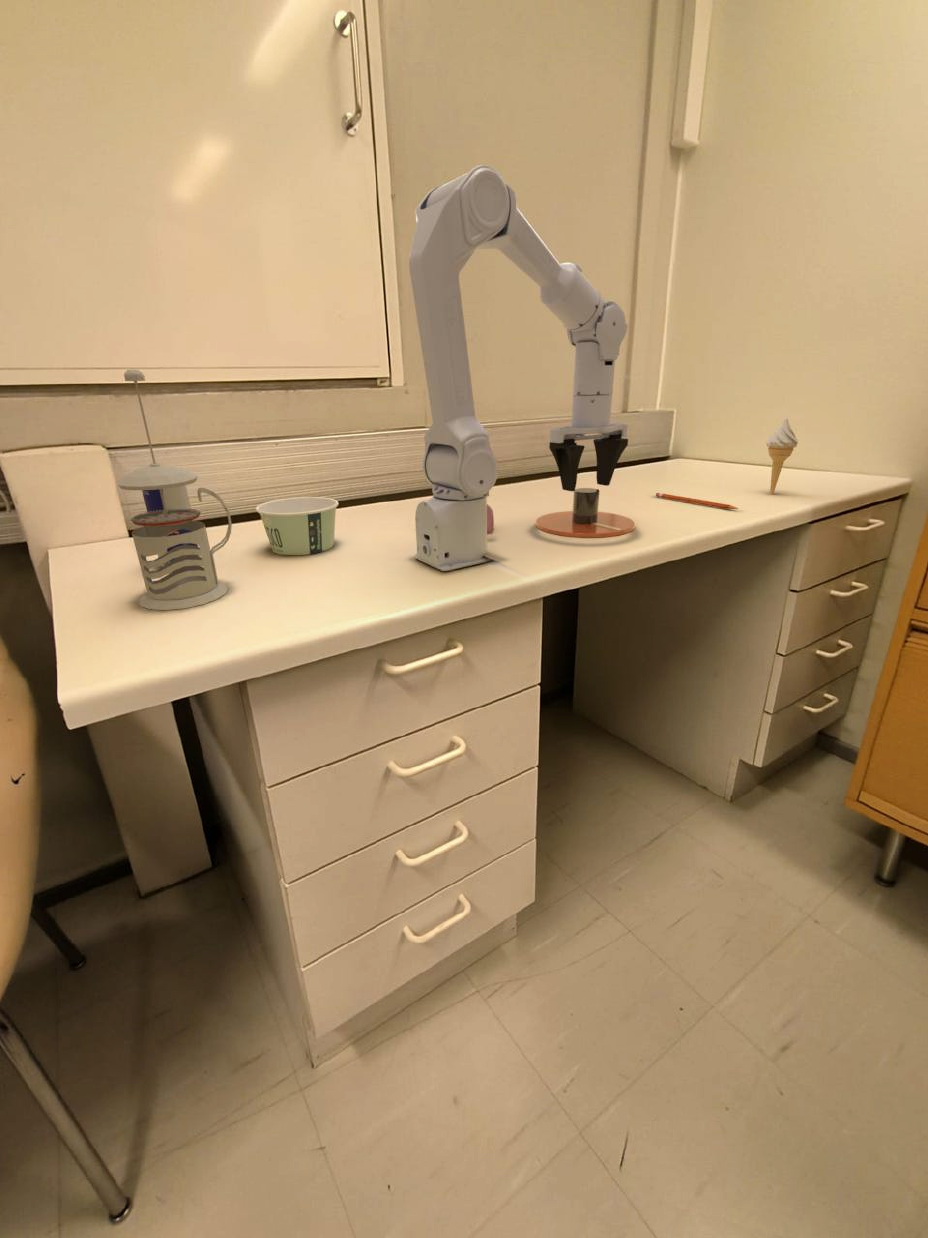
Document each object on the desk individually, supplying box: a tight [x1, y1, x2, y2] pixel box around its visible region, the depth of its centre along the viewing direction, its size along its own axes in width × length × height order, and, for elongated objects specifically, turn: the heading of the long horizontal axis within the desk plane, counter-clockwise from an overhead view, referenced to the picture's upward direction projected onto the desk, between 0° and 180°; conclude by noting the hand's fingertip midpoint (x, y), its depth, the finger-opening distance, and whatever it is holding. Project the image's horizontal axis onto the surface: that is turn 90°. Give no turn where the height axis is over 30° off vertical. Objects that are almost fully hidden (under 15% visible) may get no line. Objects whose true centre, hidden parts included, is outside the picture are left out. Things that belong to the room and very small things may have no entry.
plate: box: [535, 487, 636, 539], centre depth 90 cm, size 16×16×6 cm
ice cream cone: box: [766, 417, 799, 495], centre depth 114 cm, size 6×6×15 cm
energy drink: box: [141, 485, 202, 567], centre depth 77 cm, size 5×5×12 cm
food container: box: [255, 496, 339, 556], centre depth 85 cm, size 12×12×6 cm
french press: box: [116, 368, 233, 611], centre depth 64 cm, size 10×12×25 cm
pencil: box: [655, 492, 740, 510], centre depth 109 cm, size 1×18×1 cm, turn 35°
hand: (586, 487), depth 89 cm, fingers open, 7 cm apart
